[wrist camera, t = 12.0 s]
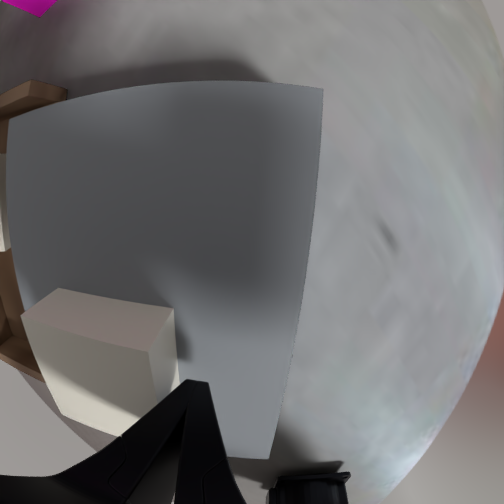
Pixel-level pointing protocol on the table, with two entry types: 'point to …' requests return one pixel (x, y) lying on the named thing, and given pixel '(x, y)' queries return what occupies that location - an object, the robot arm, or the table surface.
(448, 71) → the table surface
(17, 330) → the box
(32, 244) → the board
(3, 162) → the tile
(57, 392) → the tile
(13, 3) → the toy block
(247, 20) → the table surface
